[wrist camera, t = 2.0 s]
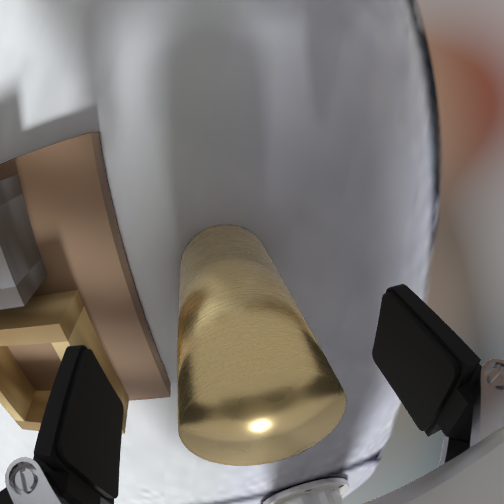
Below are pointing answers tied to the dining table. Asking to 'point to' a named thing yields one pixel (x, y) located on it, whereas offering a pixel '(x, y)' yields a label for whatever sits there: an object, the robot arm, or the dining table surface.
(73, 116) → the dining table surface
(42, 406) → the board
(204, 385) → the beige cylinder
